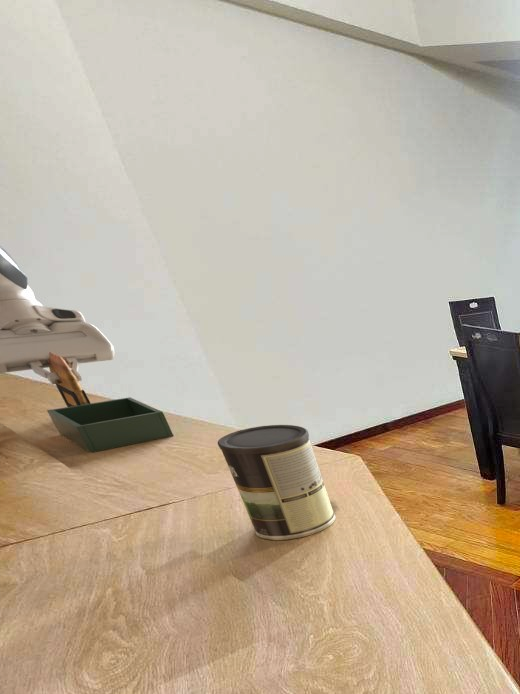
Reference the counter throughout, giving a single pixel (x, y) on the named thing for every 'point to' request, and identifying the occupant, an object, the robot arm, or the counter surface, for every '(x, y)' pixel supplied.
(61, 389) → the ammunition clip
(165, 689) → the counter surface
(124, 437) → the tray
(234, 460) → the coffee can
